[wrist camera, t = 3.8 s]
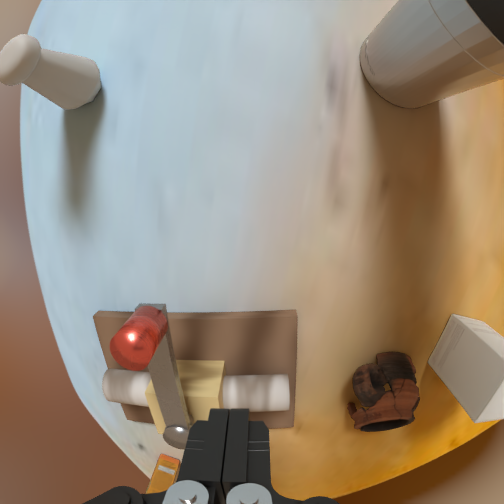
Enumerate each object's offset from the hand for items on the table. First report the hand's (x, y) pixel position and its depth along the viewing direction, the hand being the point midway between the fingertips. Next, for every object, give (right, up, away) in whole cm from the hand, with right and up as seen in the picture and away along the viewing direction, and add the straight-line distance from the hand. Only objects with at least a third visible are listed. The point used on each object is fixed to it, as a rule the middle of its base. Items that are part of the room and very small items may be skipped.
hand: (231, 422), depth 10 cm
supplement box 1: (-12, -26, +27) cm, 39 cm away
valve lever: (-6, -4, +12) cm, 14 cm away
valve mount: (-5, -7, +22) cm, 24 cm away
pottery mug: (+16, -9, +22) cm, 28 cm away
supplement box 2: (+28, -5, +21) cm, 35 cm away
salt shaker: (-17, +24, +14) cm, 33 cm away
